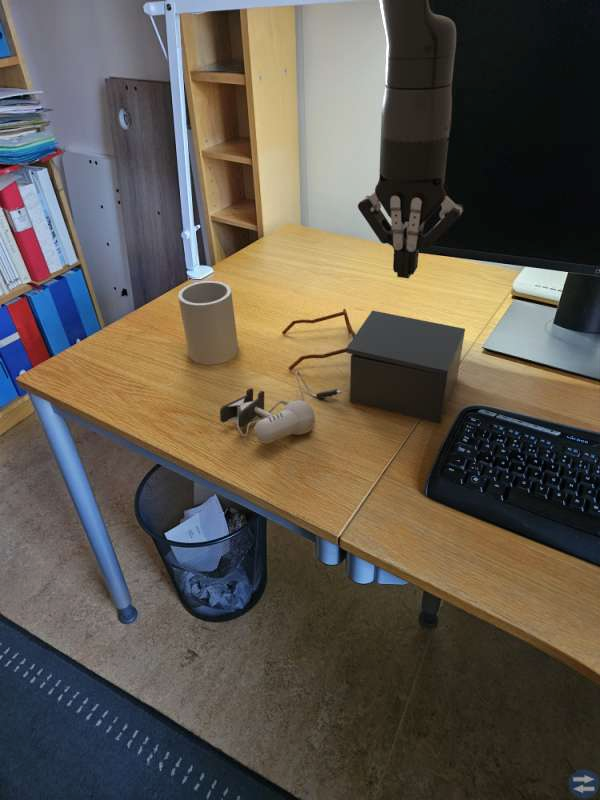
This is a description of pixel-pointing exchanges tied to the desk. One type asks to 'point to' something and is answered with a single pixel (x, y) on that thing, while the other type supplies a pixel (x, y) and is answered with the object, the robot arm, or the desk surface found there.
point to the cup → (209, 322)
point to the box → (402, 387)
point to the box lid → (407, 342)
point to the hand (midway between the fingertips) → (404, 275)
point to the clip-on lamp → (273, 427)
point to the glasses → (319, 321)
